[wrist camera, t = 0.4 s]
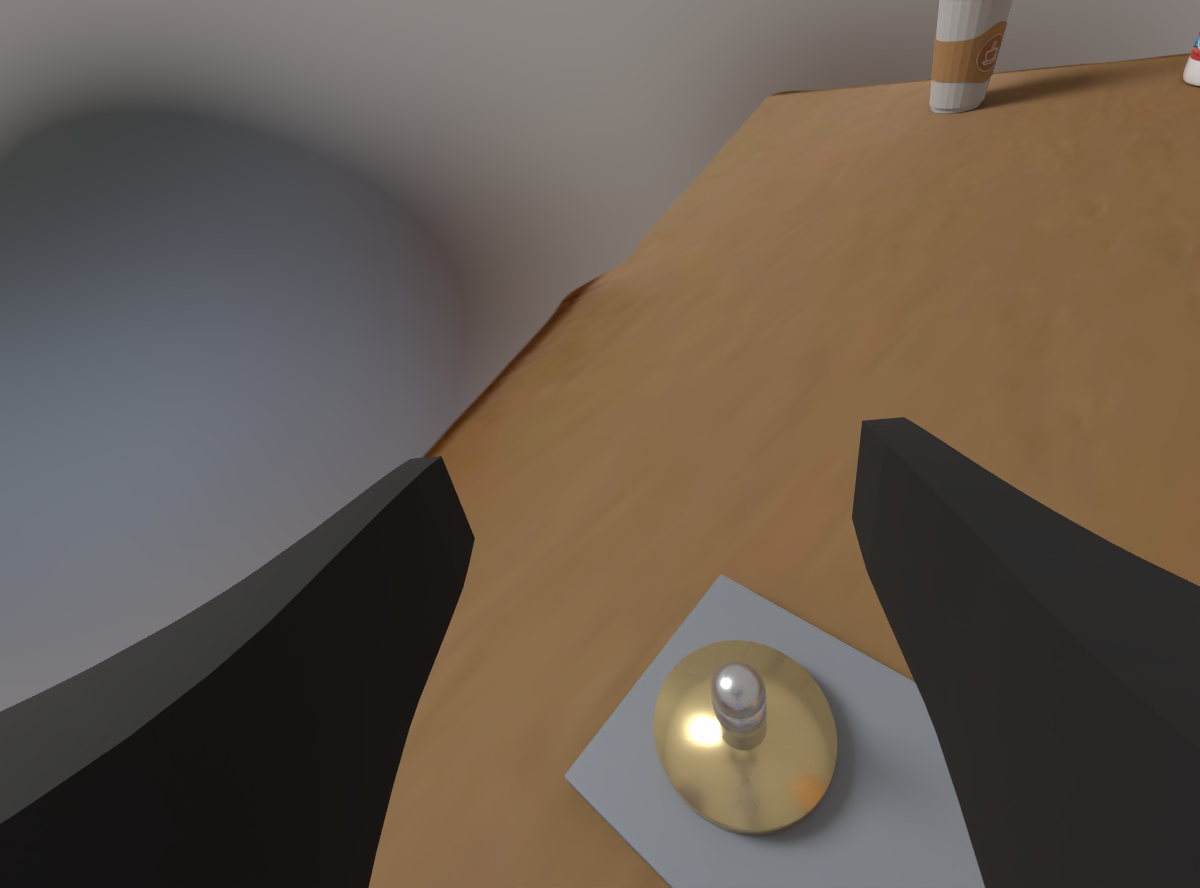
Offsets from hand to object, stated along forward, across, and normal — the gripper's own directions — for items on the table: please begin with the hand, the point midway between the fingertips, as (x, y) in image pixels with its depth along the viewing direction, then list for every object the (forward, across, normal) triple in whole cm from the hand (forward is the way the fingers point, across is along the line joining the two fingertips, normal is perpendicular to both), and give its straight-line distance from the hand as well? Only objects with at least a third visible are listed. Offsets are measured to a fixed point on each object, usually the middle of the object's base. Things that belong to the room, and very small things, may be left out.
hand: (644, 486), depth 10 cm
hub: (+5, -2, +18) cm, 18 cm away
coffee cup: (+85, -39, +5) cm, 93 cm away
